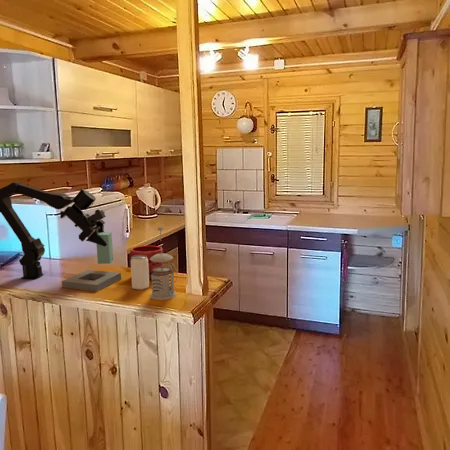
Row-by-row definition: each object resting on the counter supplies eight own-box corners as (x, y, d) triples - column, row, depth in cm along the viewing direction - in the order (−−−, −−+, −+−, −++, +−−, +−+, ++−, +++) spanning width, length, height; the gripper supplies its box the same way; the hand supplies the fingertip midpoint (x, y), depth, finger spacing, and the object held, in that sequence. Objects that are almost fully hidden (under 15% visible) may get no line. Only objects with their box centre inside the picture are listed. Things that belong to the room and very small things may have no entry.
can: (147, 289, 165) (146, 258, 163) (130, 290, 165) (128, 259, 163) (150, 284, 171) (149, 254, 169) (133, 284, 171) (132, 254, 169)
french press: (164, 288, 166) (161, 223, 161) (186, 295, 158) (183, 226, 154) (143, 296, 158) (140, 227, 154) (166, 303, 151) (163, 231, 146)
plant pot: (160, 281, 175) (159, 251, 173) (127, 281, 176) (126, 251, 174) (166, 271, 188) (165, 244, 186) (136, 271, 189) (134, 244, 187)
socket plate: (62, 287, 169) (61, 281, 169) (87, 275, 184) (87, 269, 184) (97, 291, 164) (97, 284, 164) (121, 278, 179) (120, 272, 179)
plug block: (97, 263, 180) (95, 234, 178) (101, 260, 185) (99, 232, 183) (110, 263, 180) (108, 234, 178) (113, 260, 185) (111, 232, 183)
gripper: (84, 207, 169) (115, 235, 171) (98, 200, 187) (126, 226, 189) (65, 227, 171) (96, 254, 172) (81, 219, 189) (108, 244, 191)
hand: (107, 244), depth 181 cm, fingers closed on plug block, 5 cm apart
